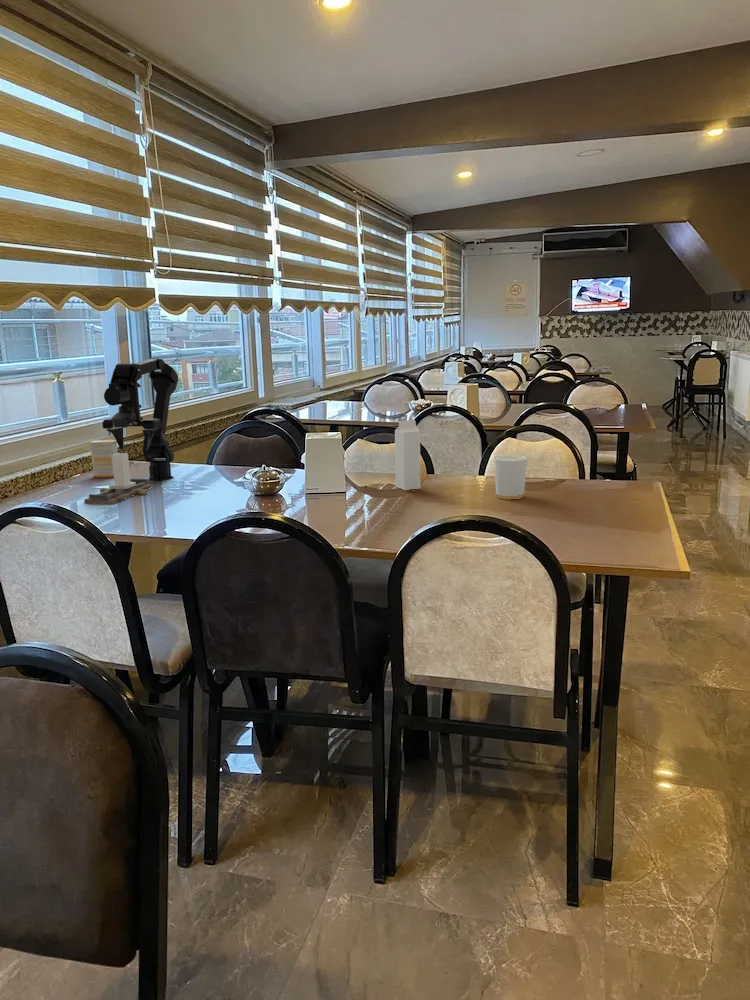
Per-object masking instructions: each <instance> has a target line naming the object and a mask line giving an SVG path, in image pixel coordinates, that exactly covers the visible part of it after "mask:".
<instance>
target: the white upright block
mask: <svg viewBox="0 0 750 1000" xmlns="http://www.w3.org/2000/svg"><path fill="white" fill-rule="evenodd" d="M112 464H113V474H114V477H113V481H114V483H112V484H109V485H108V486H109V487H108V488H109V489H115V491H118V492H119V491H121V490H124V489H128V488H130V487H133V486H135V485H136V482H130V479H131V474H130V463H129V454H128V453H126V452H121V453H120V452H118V453H117V454H113V455H112Z"/></svg>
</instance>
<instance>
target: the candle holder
mask: <svg viewBox="0 0 750 1000" xmlns="http://www.w3.org/2000/svg"><path fill="white" fill-rule="evenodd" d="M493 460H494V463H493V464H494V480H495V481H494V483H495V495H496V494H498V495H502V496H518V495H522V494H524V495H525V487H526V479H527V478H526V476H527V463H528V457H526V456H523V455H515V454H513V455H512V454H507V455H506V454H505V455H504V454H503V455H498V456H495V457H494V458H493Z"/></svg>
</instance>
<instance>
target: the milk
mask: <svg viewBox="0 0 750 1000" xmlns="http://www.w3.org/2000/svg"><path fill="white" fill-rule="evenodd" d="M394 452H395V453H394V461H395V462H394V463H395V468H394V470H395V473H394V474H395V475H394V476H395V488H396V487H398V488H401V489H403V490H409V489H419V488H420V489H421V430H420V429H419V427H418V426H417V423H416V420H415V419H412V420H411V419H410V420H399V421H398V427H396V429H395V430H394Z"/></svg>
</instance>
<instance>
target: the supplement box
mask: <svg viewBox="0 0 750 1000" xmlns="http://www.w3.org/2000/svg"><path fill="white" fill-rule="evenodd" d="M89 447H90V455H91V463H92V471H93V477H94V478H114V474H113V464H112V455H113V454H117V453H119V452H118V451H119V450H118V443H117V441H116V439H96V440H92V441H89Z"/></svg>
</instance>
